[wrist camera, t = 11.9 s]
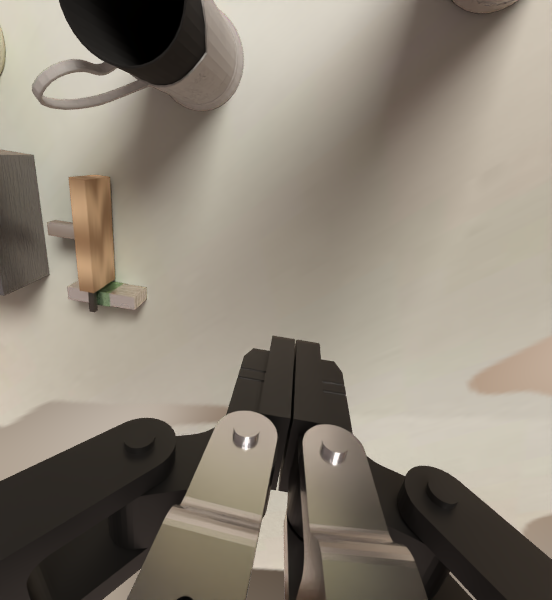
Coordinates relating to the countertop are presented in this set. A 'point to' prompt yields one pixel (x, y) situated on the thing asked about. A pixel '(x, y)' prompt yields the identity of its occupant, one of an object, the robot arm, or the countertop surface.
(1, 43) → the can
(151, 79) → the black and white mug
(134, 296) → the set of grey blocks
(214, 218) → the countertop surface
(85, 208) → the tan wooden bar
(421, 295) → the countertop surface
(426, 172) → the countertop surface
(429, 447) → the countertop surface
